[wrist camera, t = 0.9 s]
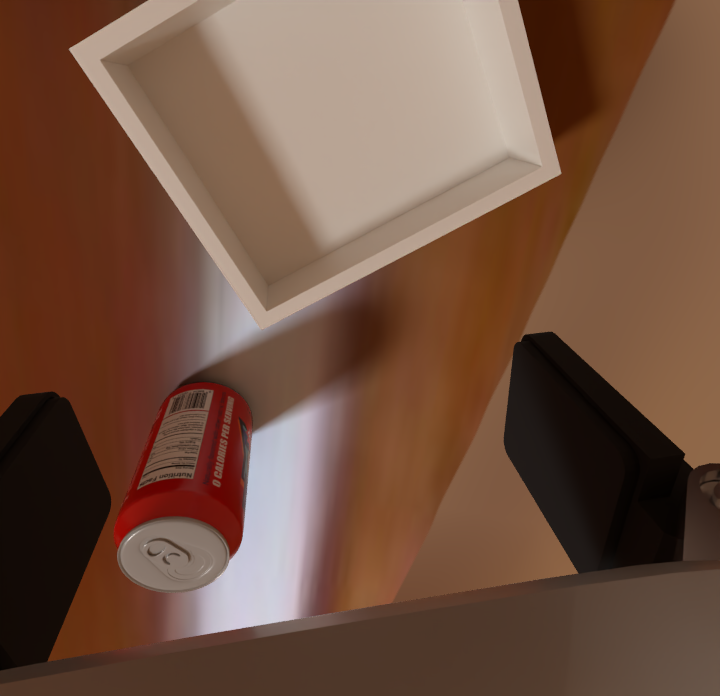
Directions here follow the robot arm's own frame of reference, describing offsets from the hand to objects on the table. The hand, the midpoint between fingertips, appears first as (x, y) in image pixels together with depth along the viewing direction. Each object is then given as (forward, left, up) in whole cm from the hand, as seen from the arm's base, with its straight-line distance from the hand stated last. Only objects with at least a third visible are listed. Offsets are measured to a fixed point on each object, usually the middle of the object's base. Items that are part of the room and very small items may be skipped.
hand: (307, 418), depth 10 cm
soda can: (+16, +13, -28) cm, 34 cm away
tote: (-5, -3, -27) cm, 28 cm away
